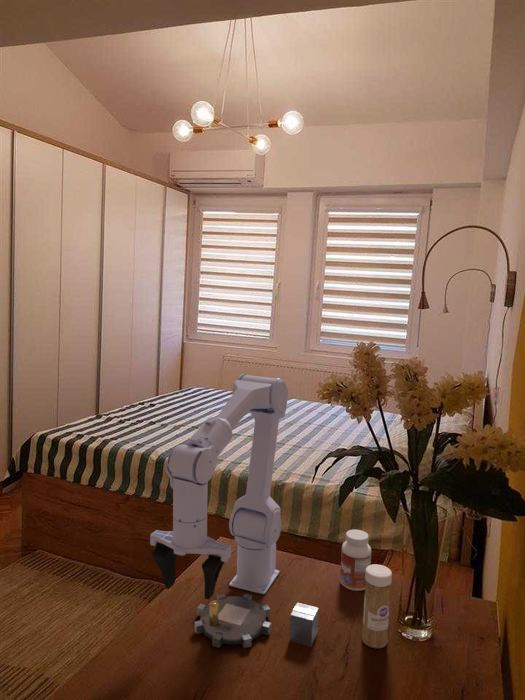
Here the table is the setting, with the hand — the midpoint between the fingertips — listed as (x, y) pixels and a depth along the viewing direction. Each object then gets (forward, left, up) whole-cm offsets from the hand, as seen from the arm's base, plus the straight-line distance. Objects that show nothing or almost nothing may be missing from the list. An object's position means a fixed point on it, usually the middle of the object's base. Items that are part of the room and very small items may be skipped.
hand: (189, 590), depth 91 cm
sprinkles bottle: (-14, +30, -10) cm, 34 cm away
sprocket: (-8, +5, -10) cm, 14 cm away
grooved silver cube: (-10, +18, -10) cm, 23 cm away
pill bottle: (-31, +23, -10) cm, 40 cm away
